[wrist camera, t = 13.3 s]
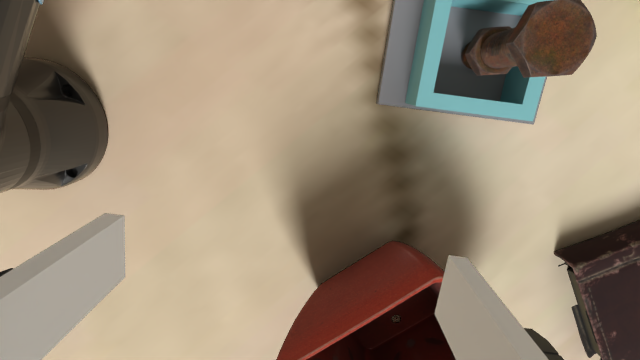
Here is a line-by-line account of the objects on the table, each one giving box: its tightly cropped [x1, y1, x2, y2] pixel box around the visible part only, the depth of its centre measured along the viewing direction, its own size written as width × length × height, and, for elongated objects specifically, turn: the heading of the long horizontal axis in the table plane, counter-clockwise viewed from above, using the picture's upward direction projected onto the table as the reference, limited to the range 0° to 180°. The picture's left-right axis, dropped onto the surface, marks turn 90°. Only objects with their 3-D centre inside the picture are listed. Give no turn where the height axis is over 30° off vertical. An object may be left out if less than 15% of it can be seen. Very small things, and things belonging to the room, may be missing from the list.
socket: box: [376, 0, 550, 124], centre depth 39 cm, size 18×13×6 cm
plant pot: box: [276, 241, 456, 360], centre depth 42 cm, size 19×19×17 cm
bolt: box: [461, 0, 597, 78], centre depth 33 cm, size 6×5×15 cm
